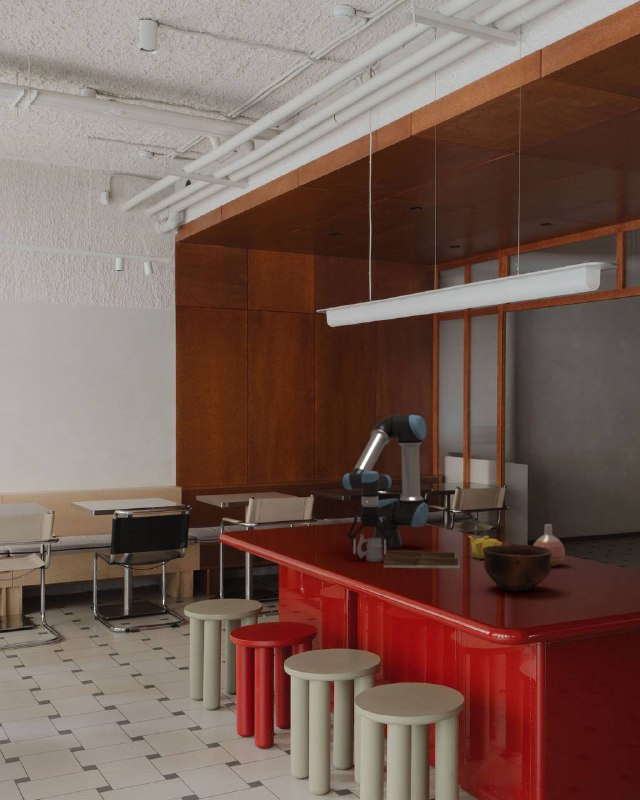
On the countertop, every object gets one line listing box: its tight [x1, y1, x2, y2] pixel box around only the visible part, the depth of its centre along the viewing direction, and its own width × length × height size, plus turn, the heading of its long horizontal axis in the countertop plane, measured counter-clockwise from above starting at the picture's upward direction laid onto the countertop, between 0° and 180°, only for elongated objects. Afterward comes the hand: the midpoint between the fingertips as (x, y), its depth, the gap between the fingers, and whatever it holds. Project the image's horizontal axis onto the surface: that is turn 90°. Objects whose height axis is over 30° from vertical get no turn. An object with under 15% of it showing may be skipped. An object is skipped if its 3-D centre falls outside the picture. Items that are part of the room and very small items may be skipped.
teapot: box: [467, 535, 503, 560], centre depth 406 cm, size 14×13×10 cm
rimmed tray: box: [383, 550, 461, 570], centre depth 392 cm, size 20×32×4 cm, turn 83°
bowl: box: [483, 544, 552, 592], centre depth 335 cm, size 25×25×15 cm
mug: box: [356, 533, 384, 563], centre depth 402 cm, size 8×12×12 cm, turn 101°
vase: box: [532, 523, 566, 566], centre depth 387 cm, size 14×14×18 cm
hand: (369, 553), depth 401 cm, fingers open, 13 cm apart
